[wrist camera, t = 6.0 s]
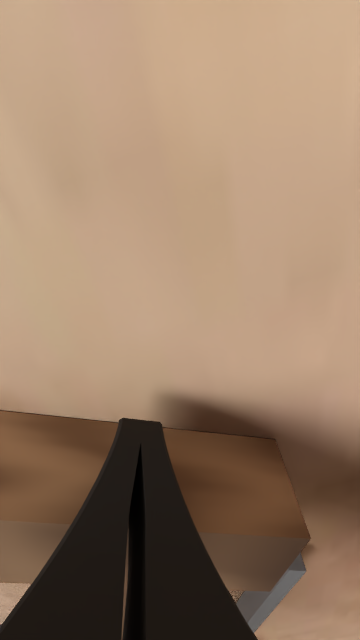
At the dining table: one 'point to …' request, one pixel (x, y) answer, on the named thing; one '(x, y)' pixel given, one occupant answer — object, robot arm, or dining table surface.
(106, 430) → the walnut T-block
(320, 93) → the dining table surface
